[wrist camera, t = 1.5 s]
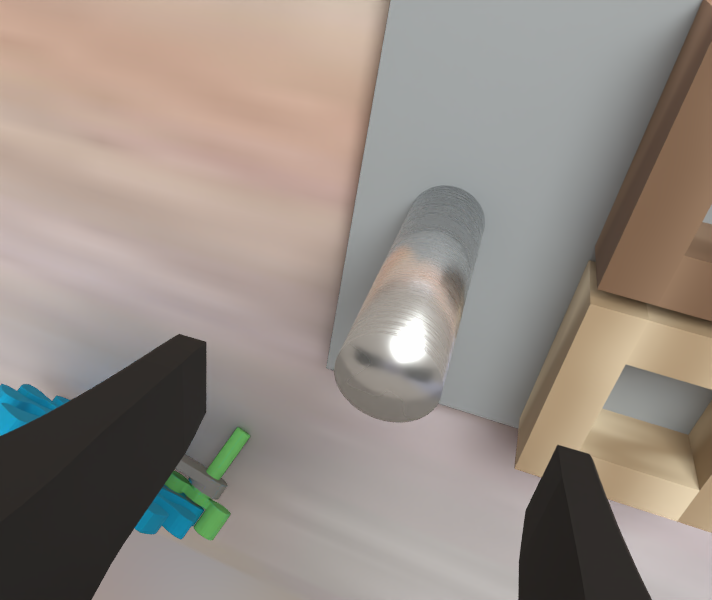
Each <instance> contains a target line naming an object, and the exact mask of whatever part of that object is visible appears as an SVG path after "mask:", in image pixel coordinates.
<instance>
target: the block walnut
mask: <svg viewBox="0 0 712 600" xmlns="http://www.w3.org/2000/svg"><path fill="white" fill-rule="evenodd" d="M711 205H712V0H702V3H701V5H700V7H699V10H698V12H697V14H696V16H695V19H694V21H693V23H692V26H691V28H690V30H689V32H688V35H687V37H686V39H685V42H684V44H683V46H682V48H681V51H680V53H679V55H678V58H677V60H676V62H675V64H674V67H673V69H672V71H671V74H670V76H669V78H668V80H667V83H666V85H665V87H664V90H663V92H662V94H661V96H660V99H659V101H658V103H657V106H656V108H655V110H654V112H653V115H652V117H651V119H650V122H649V124H648V126H647V128H646V131H645V133H644V135H643V138H642V140H641V142H640V144H639V147H638V149H637V151H636V154H635V156H634V158H633V160H632V163H631V165H630V167H629V170H628V172H627V174H626V176H625V179H624V181H623V183H622V186H621V188H620V190H619V193H618V195H617V197H616V199H615V202H614V204H613V206H612V209H611V211H610V213H609V215H608V218H607V220H606V222H605V225H604V227H603V229H602V231H601V234H600V236H599V238H598V241H597V243H596V245H595V257H596V276H597V289H599V290H602V291H606V292H609V293H613V294H616V295H620V296H623V297H627V298H631V299H634V300H638V301H641V302H645V303H648V304H652V305H655V306H659V307H663V308H666V309H670V310H673V311H677V312H680V313H684V314H687V315H691V316H695V317H698V318H702V319H705V320H709V321H712V224H709V223H705V222H702V221H703V220H704V218H705V216H706V214H707V212H708V210H709V208H710V207H711Z"/></svg>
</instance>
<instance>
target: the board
mask: <svg viewBox="0 0 712 600" xmlns="http://www.w3.org/2000/svg"><path fill="white" fill-rule="evenodd" d="M701 3H702V0H391V1H390V7H389V12H388V18H387V24H386V29H385V35H384V41H383V47H382V52H381V58H380V64H379V69H378V75H377V81H376V87H375V92H374V98H373V104H372V109H371V115H370V121H369V127H368V132H367V138H366V144H365V149H364V155H363V161H362V167H361V172H360V178H359V184H358V189H357V195H356V201H355V207H354V212H353V218H352V224H351V229H350V235H349V241H348V247H347V252H346V258H345V264H344V269H343V275H342V281H341V287H340V292H339V298H338V304H337V309H336V315H335V321H334V327H333V332H332V338H331V344H330V349H329V355H328V361H327V367H326V368H327V369H331V370H334V366H335V361H336V358H337V356H338V354H339V352H340V350H341V348H342V346H343V344H344V342H345V340H346V338H347V336H348V333H349V331H350V329H351V327H352V325H353V323H354V321H355V319H356V317H357V315H358V313H359V311H360V309H361V307H362V305H363V303H364V301H365V299H366V297H367V295H368V293H369V291H370V289H371V287H372V285H373V283H374V281H375V279H376V277H377V275H378V273H379V271H380V269H381V267H382V265H383V263H384V261H385V259H386V257H387V255H388V253H389V251H390V249H391V247H392V245H393V243H394V241H395V239H396V237H397V235H398V233H399V230H400V228H401V226H402V224H403V222H404V220H405V218H406V216H407V214H408V212H409V210H410V208H411V206H412V204H413V202H414V201H415V199H416V198H417V197H418V196H419V195H420V194H421V193H422V192H424V191H426V190H427V189H429V188H432V187H435V186H441V185H448V186H455V187H458V188H461V189H463V190H465V191H467V192H468V193H470V194H471V195H472V196H474V197H475V199H476V200H477V201H478V202H479V204H480V205H481V207H482V209H483V212H484V216H485V228H484V232H483V236H482V240H481V244H480V247H479V251H478V255H477V259H476V263H475V267H474V271H473V275H472V279H471V282H470V286H469V290H468V294H467V298H466V302H465V306H464V310H463V313H462V317H461V321H460V325H459V329H458V333H457V337H456V341H455V345H454V348H453V352H452V356H451V360H450V364H449V368H448V372H447V376H446V379H445V383H444V387H443V391H442V395H441V398H440V401H439V403H438V404H441V405H445V406H448V407H451V408H454V409H457V410H460V411H464V412H467V413H470V414H473V415H476V416H479V417H483V418H486V419H489V420H492V421H495V422H498V423H502V424H505V425H508V426H511V427H514V428H517V429H519V420H520V417H521V414H522V412H523V410H524V407H525V405H526V403H527V401H528V398H529V396H530V394H531V391H532V389H533V387H534V385H535V382H536V380H537V378H538V375H539V373H540V371H541V369H542V366H543V364H544V362H545V359H546V357H547V355H548V353H549V350H550V348H551V346H552V343H553V341H554V339H555V337H556V334H557V332H558V330H559V327H560V325H561V323H562V321H563V318H564V316H565V314H566V311H567V309H568V307H569V305H570V302H571V300H572V298H573V295H574V293H575V291H576V289H577V286H578V284H579V282H580V279H581V277H582V275H583V273H584V270H585V268H586V266H587V263H588V261H589V260H590V261H594V262H596V257H595V245H596V243H597V241H598V238H599V236H600V234H601V231H602V229H603V227H604V225H605V222H606V220H607V218H608V215H609V213H610V211H611V209H612V206H613V204H614V202H615V199H616V197H617V195H618V193H619V190H620V188H621V186H622V183H623V181H624V179H625V176H626V174H627V172H628V170H629V167H630V165H631V163H632V160H633V158H634V156H635V154H636V151H637V149H638V147H639V144H640V142H641V140H642V138H643V135H644V133H645V131H646V128H647V126H648V124H649V122H650V119H651V117H652V115H653V112H654V110H655V108H656V106H657V103H658V101H659V99H660V96H661V94H662V92H663V90H664V87H665V85H666V83H667V80H668V78H669V76H670V74H671V71H672V69H673V67H674V64H675V62H676V60H677V58H678V55H679V53H680V51H681V48H682V46H683V44H684V42H685V39H686V37H687V35H688V32H689V30H690V28H691V26H692V23H693V21H694V19H695V16H696V14H697V12H698V10H699V7H700V5H701ZM702 222H705V223H709V224H712V205H711V207H710V208H709V210H708V212H707V214H706V216H705V218H704V220H703V221H702ZM711 400H712V390H711V389H708V388H704V387H701V386H698V385H694V384H691V383H688V382H684V381H681V380H677V379H674V378H671V377H667V376H664V375H660V374H657V373H654V372H650V371H647V370H644V369H640V368H637V367H633V366H630V365H627V364H626V365H625V367H624V369H623V370H622V372H621V374H620V376H619V378H618V380H617V382H616V383H615V385H614V387H613V389H612V391H611V393H610V395H609V396H608V398H607V400H606V402H605V404H604V406H603V408H602V409H606V410H609V411H612V412H615V413H619V414H622V415H625V416H628V417H632V418H635V419H638V420H642V421H645V422H648V423H651V424H655V425H658V426H661V427H664V428H668V429H671V430H674V431H677V432H681V433H684V434H687V435H689V433H690V432H691V430H692V429H693V427H694V426H695V424H696V423H697V421H698V420H699V418H700V417H701V415H702V414H703V412H704V411H705V409H706V408H707V406H708V405H709V403H710V402H711Z"/></svg>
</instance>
